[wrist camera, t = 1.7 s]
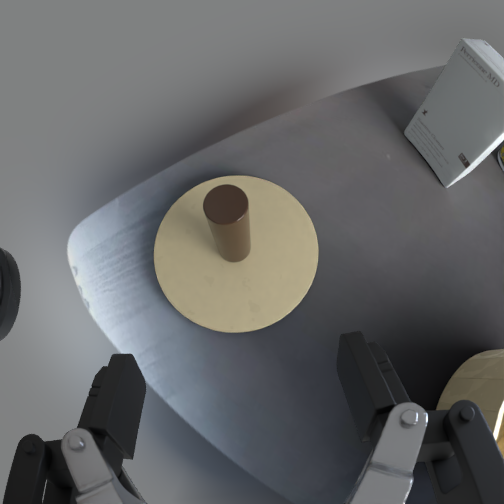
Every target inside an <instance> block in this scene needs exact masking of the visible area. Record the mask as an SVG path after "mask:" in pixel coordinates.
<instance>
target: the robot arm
mask: <svg viewBox="0 0 504 504" xmlns="http://www.w3.org/2000/svg"><path fill="white" fill-rule="evenodd" d="M2 297H3V273H2V268H1V265H0V306H1V302H2ZM337 372H338V376H339V379H340V381H341V384H342V387H343V390H344V393H345V396H346V399H347V401H348V404H349V407H350V410H351V413H352V416H353V419H354V422H355V425H356V428H357V431H358V434H359V437H360V440H361V442H365V441H369V440H370V441H371V444H372V449H371V452H370V454H369V456H368V458H367V460H366V463H365V465H364V467H363V469H362V471H361V473H360V475H359V477H358V479H357V481H356V483H355V485H354V487H353V489H352V490H351V492H350V494H349V495H348V497H347V499H346V501H345V502H344V504H405V501H406V499H407V496H408V494H409V491H410V489H411V486H412V483H413V479H414V475H412V472H413V469H414V466H415V463H416V462H425V464H426V467H427V470H428V473H429V477H430V480H431V483H432V486H433V489H434V493H435V496H436V499H437V503H438V504H504V458H503V455H502V453H501V451H500V449H499V446H498V444H497V442H496V440H495V438H494V436H493V434H492V431H491V429H490V427H489V425H488V423H487V421H486V419H485V417H484V415H483V413H482V411H481V409H480V408H479V406H478V405H477V404H476V403H474V402H472V401H470V400H460V401H457V402H455V403H454V404H453V405H452V406H451V408H450V409H449V410H433V411H429V410H424V409H423V408H422V407H421V406H419V405H418V404H415V403H412V401H411V400H410V398H409V396H408V394H407V392H406V390H405V389H404V387H403V385H402V383H401V381H400V379H399V377H398V375H397V373H396V371H395V370H394V367H393V365H392V363H391V362H390V361H389V358H388V356H387V354H386V352H385V350H384V349H383V348H382V347H380V346H379V345H378V344H377V343H376V342H369V343H367V342H366V340H365V338H364V336H363V334H362V333H361V331H356V332H351V333H346V334H341V335H340V340H339V348H338V355H337ZM145 394H146V383H145V379H144V377H143V375H142V373H141V371H140V369H139V367H138V365H137V363H136V360H135V358H134V356H133V355H132V354H113V355H112V357H111V359H110V362H109V364H108V367H107V366H103V367H102V368H101V370H100V371H99V372H98V373H97V374H96V375H95V378H94V380H93V383H92V388H91V389H90V391H89V396H88V397H87V400H86V403H85V406H84V409H83V412H82V415H81V418H80V421H79V424H78V426H77V428H75V429H72V430H70V431H68V432H67V433H66V434H65V435H64V437H63V439H61V440H54V441H46V442H44V441H43V440H42V439H41V438H40V437H39V436H37V435H35V434H29V435H26V436H24V437H23V438H22V439H21V440H20V442H19V443H18V446H17V449H16V453H15V456H14V460H13V463H12V467H11V470H10V474H9V478H8V482H7V486H6V490H5V495H4V499H3V504H147V503H146V502H145V500H144V499H143V498H142V496H141V495H140V493H139V492H138V490H137V488H136V487H135V485H134V484H133V482H132V481H131V479H130V478H129V476H128V474H127V473H126V471H125V469H124V468H123V466H122V462H123V459H133V456H134V450H135V444H136V439H137V433H138V428H139V423H140V418H141V413H142V408H143V403H144V398H145ZM46 480H47V484H46V489H45V495H44V500H43V503H42V498H43V492H44V487H45V482H46Z"/></svg>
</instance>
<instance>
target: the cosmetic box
mask: <svg viewBox="0 0 504 504" xmlns="http://www.w3.org/2000/svg"><path fill="white" fill-rule="evenodd" d="M404 135H405V136H406V137H407V139H408V140H409V141H411V143H412V144H413V145H414V146H415V147H416V149H417V150H418V151H419V152H420V153H421V155H422V156H423V157H424V158H425V160H426V161H427V162H428V163H429V165H430V166H431V168H432V169H433V170H434V172H435V173H436V175H437V176H438V178H439V179H440V181H441V183H442V184H443V186H444V187H446V188H447V187H449V186H450V185H452V184H453V183H455V182H456V181H458V180H459V179H461V178H462V177H464V176H465V175H467V174H468V173H470V172H471V171H472V170H473V169H474V168H475V167H476V166H477V165H478V164H479V163H480V162H481V161H483V160H484V159H485V158H486V157H487V156H488V155H489V154H490V153H491V152H492V151H493V150H494V149H495V148H496V147H497V146H498V145H499V144H500V143H501V142H502V141H503V140H504V59H503V58H502V57H501V56H500V55H499V54H498V53H497V52H496V51H495V50H494V49H493V48H492V47H491V46H490V45H489V44H488V43H487V42H485V41H484V40H477V39H467V38H462V39H461V41H460V42H459V44H458V46H457V48H456V49H455V51H454V53H453V55H452V56H451V58H450V59H449V61H448V63H447V64H446V66H445V68H444V69H443V71H442V72H441V74H440V76H439V77H438V79H437V81H436V82H435V84H434V85H433V87H432V89H431V90H430V92H429V94H428V95H427V97H426V98H425V100H424V101H423V103H422V104H421V106H420V107H419V109H418V111H417V112H416V114H415V115H414V117H413V118H412V120H411V121H410V123H409V124H408V126H407V127H406V129H405V131H404Z"/></svg>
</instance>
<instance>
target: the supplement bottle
mask: <svg viewBox="0 0 504 504" xmlns="http://www.w3.org/2000/svg"><path fill="white" fill-rule="evenodd" d="M498 161H499V164H500V166H501V168H502V170H503V171H504V146H503V147H502V148H501V149H500V150H499V152H498Z"/></svg>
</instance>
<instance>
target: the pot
mask: <svg viewBox="0 0 504 504" xmlns="http://www.w3.org/2000/svg"><path fill="white" fill-rule="evenodd" d="M460 400H470V401H472V402H474V403H476V404H477V405H478V406H479V408H480V409H481V411H482V413H483V415H484V417H485V419H486V421H487V423H488V425H489V427H490V429H491V431H492V434H493V436H494V438H495V440H496V442H497V444H498V446H499V449H500V451H501V453H502V455H503V458H504V349H499V350H489V351H484V352H482V353H479V354H476V355H474V356H473V357H471V358H469V359H468V360H467V361H466V362H464V363H463V364H462V365H461V366H460V367H459V368H458V369H457V371H456V372H455V373H454V374H453V376H452V377H451V379H450V380H449V381H448V383H447V385H446V387H445V389H444V391H443V393H442V395H441V397H440V400H439V402H438V405H437V408H436V410H449V409H450V408H451V406H452V405H453V404H454V403H455V402H457V401H460Z"/></svg>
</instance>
